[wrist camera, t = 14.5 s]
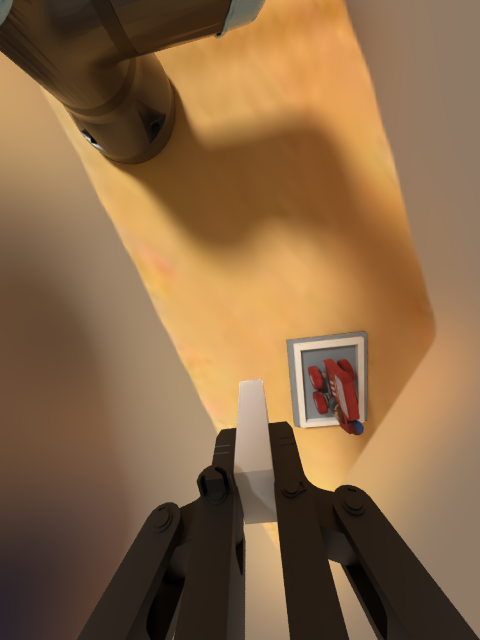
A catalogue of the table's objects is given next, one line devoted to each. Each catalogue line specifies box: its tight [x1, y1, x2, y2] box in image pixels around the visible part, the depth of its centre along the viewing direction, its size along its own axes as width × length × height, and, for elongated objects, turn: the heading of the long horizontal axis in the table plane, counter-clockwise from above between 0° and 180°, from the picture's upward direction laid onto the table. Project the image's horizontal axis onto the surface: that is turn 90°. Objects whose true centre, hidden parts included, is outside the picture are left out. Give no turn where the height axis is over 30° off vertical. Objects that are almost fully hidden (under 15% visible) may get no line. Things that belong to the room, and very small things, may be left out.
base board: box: [286, 331, 367, 428], centre depth 42 cm, size 18×14×2 cm
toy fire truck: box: [308, 358, 364, 435], centre depth 37 cm, size 7×12×10 cm, turn 14°
